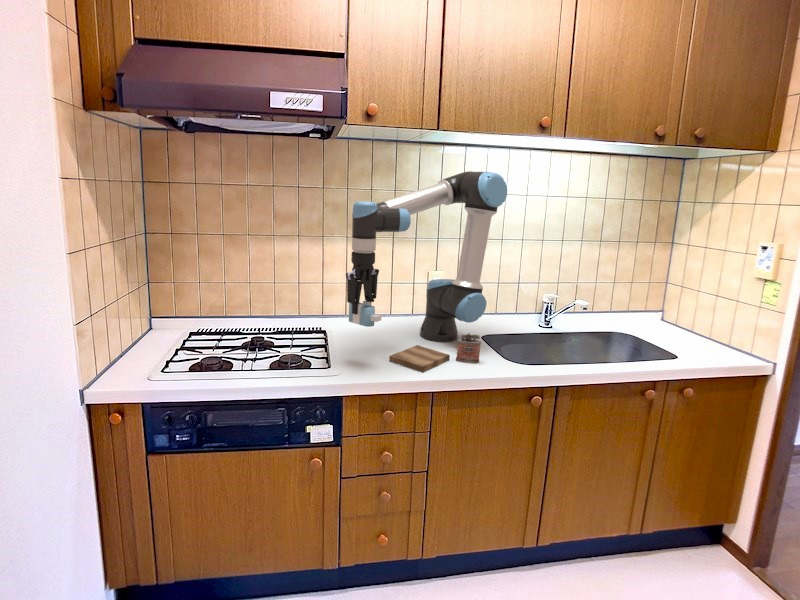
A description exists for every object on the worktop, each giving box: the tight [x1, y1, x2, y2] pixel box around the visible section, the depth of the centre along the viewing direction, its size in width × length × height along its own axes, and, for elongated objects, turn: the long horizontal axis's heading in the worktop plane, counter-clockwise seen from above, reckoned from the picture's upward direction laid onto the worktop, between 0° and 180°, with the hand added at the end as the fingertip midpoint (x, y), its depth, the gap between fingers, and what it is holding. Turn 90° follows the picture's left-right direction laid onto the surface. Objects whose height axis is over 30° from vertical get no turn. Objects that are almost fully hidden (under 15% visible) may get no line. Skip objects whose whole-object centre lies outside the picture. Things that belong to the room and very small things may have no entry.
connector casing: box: [348, 301, 382, 328], centre depth 162 cm, size 4×12×6 cm, turn 51°
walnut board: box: [389, 344, 451, 373], centre depth 172 cm, size 16×14×2 cm
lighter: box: [455, 332, 482, 364], centre depth 173 cm, size 8×3×10 cm, turn 82°
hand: (361, 321), depth 163 cm, fingers closed on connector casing, 4 cm apart
